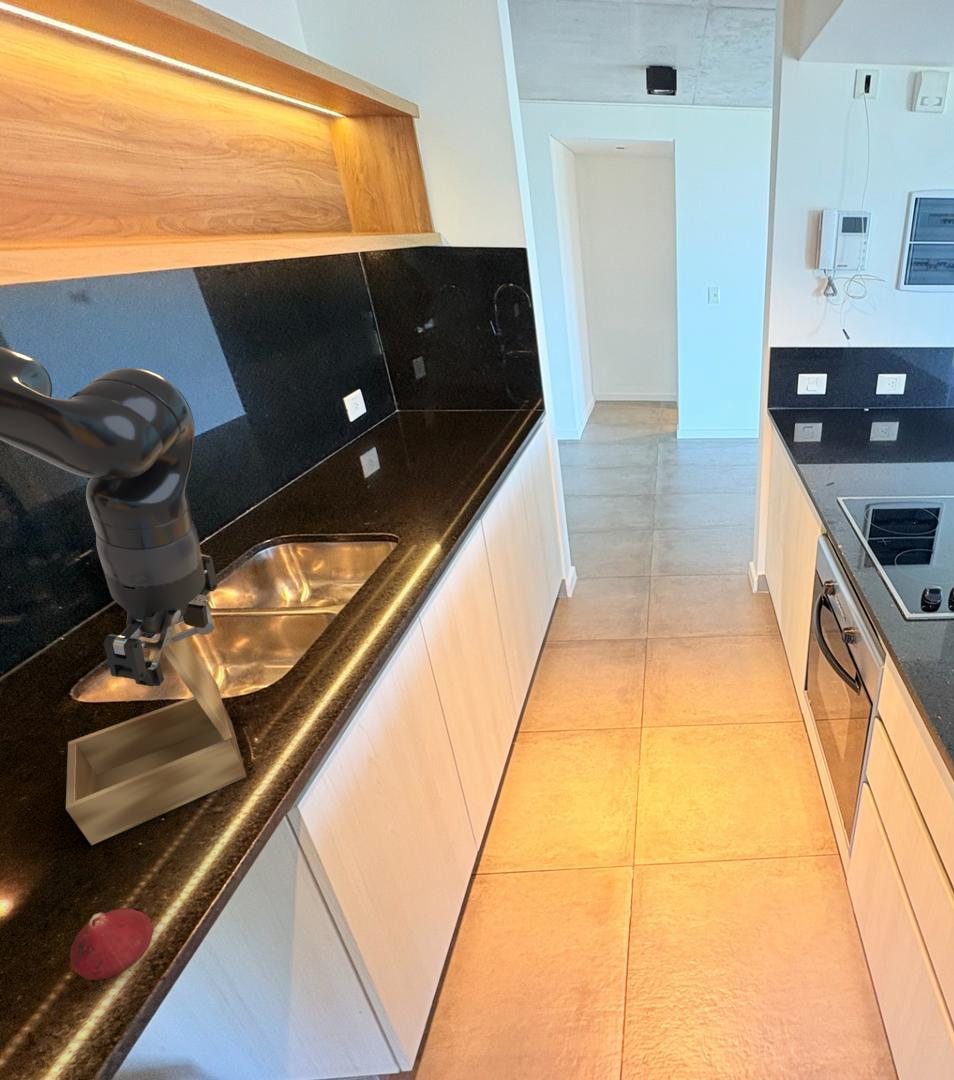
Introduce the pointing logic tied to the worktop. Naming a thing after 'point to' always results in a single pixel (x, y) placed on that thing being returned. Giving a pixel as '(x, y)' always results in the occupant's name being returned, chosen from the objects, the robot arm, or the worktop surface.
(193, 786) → the breadbox
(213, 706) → the lid
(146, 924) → the onion
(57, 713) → the worktop surface
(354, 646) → the worktop surface
